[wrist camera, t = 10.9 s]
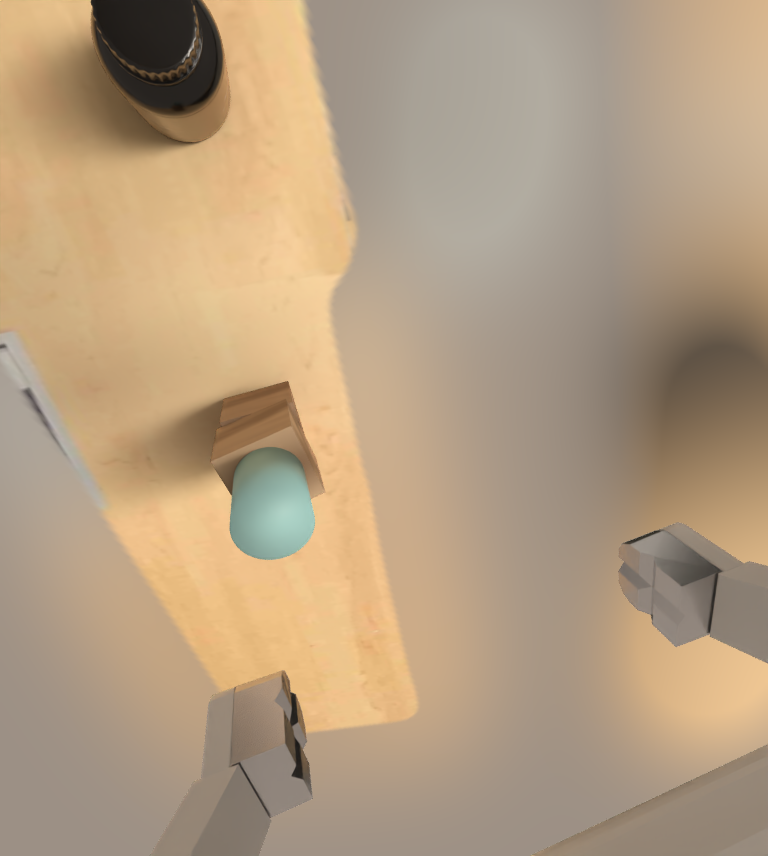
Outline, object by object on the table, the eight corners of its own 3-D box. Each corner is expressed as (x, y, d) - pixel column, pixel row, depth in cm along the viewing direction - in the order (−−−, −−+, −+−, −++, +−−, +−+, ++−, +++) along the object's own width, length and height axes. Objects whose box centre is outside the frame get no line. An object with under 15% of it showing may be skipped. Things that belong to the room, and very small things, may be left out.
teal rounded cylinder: (223, 459, 32) (217, 504, 26) (294, 438, 33) (302, 478, 27) (246, 517, 34) (245, 570, 29) (312, 496, 35) (323, 544, 29)
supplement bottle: (251, 106, 35) (249, 49, 24) (180, 163, 35) (146, 132, 24) (182, 4, 32) (145, -114, 21) (104, 68, 32) (28, -17, 21)
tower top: (216, 428, 37) (210, 461, 32) (286, 398, 38) (291, 425, 32) (251, 487, 40) (250, 526, 34) (315, 457, 40) (325, 492, 35)
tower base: (223, 398, 42) (219, 422, 37) (288, 381, 43) (292, 401, 38) (245, 455, 45) (243, 485, 39) (305, 437, 46) (312, 464, 40)
